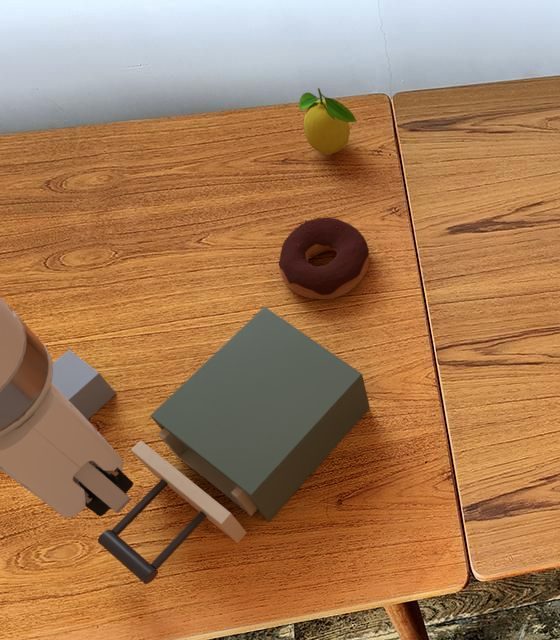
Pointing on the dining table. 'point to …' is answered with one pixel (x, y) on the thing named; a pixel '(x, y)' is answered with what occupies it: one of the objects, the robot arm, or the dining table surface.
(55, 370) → the block
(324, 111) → the lemon
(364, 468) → the dining table surface
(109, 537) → the drawer
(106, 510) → the robot arm
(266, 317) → the cabinet
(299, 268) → the donut
